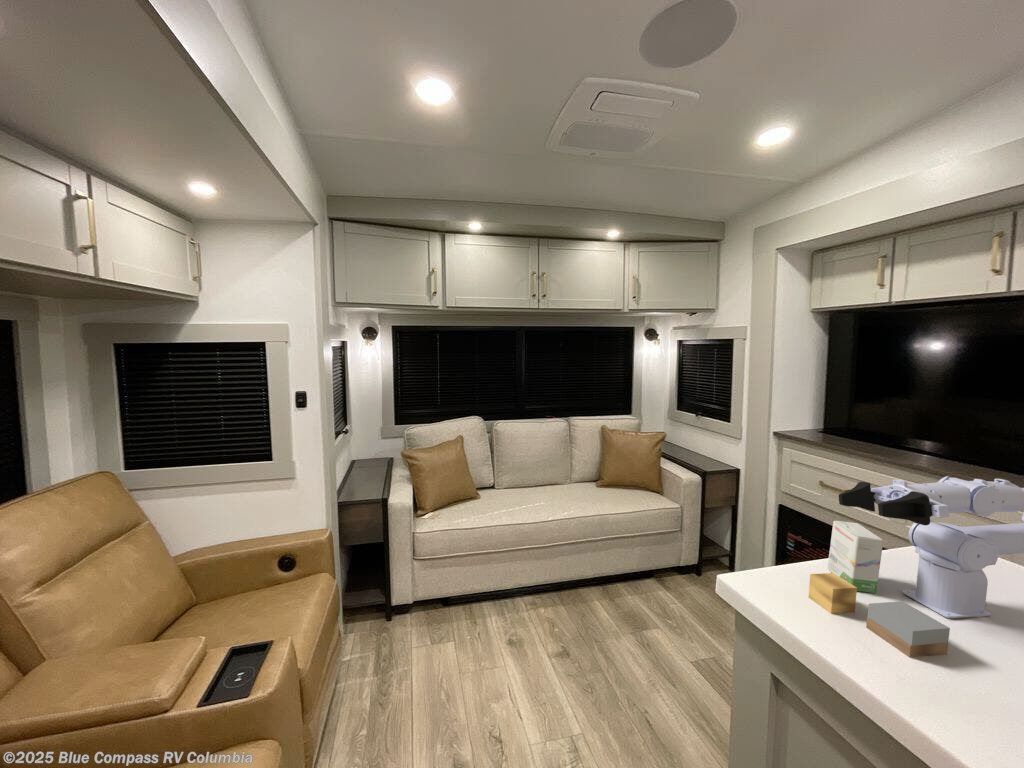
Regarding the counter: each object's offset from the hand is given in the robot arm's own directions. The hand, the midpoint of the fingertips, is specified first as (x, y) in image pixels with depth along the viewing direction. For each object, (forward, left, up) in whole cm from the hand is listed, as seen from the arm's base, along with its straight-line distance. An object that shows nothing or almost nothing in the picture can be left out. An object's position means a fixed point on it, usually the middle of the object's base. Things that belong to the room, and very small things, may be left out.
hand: (859, 504), depth 74 cm
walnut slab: (-2, +8, -21) cm, 23 cm away
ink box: (-10, -9, -21) cm, 25 cm away
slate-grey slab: (-2, +8, -19) cm, 21 cm away
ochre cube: (+2, -2, -21) cm, 21 cm away
